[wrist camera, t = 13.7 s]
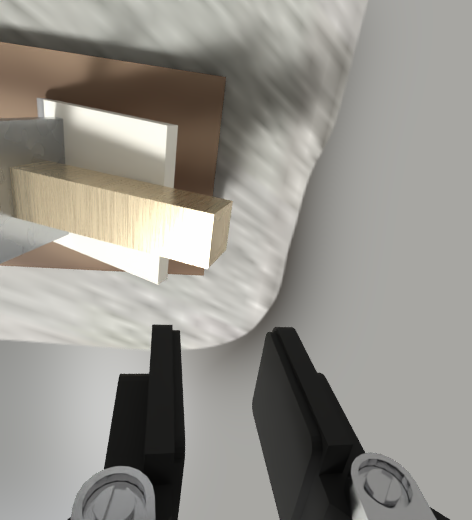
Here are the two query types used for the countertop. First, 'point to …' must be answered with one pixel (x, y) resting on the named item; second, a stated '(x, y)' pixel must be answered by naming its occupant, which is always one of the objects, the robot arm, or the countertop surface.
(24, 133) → the trowel
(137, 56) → the countertop surface
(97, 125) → the tile
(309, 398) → the robot arm
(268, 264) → the countertop surface
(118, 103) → the board
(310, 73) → the countertop surface
